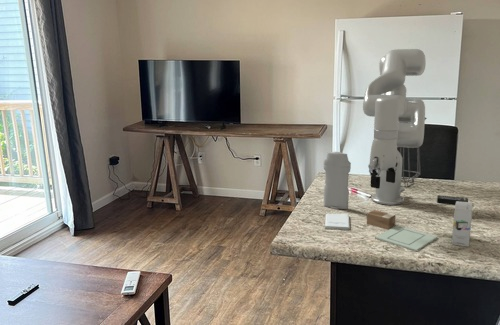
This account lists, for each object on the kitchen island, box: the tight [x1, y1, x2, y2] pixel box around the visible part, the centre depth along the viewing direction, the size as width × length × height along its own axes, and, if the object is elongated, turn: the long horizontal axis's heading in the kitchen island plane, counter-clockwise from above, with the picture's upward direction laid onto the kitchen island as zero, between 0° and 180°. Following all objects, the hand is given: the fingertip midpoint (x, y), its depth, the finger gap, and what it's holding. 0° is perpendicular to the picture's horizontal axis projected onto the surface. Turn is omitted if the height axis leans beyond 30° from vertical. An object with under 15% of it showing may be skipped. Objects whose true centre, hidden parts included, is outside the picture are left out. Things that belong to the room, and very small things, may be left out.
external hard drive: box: [324, 213, 350, 231], centre depth 158 cm, size 2×8×12 cm
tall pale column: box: [323, 151, 352, 210], centre depth 171 cm, size 11×4×22 cm, turn 61°
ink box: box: [451, 201, 473, 247], centre depth 139 cm, size 8×5×12 cm, turn 154°
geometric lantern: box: [399, 117, 428, 188], centre depth 199 cm, size 16×16×35 cm
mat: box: [374, 224, 438, 252], centre depth 143 cm, size 14×14×1 cm
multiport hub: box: [436, 194, 469, 206], centre depth 176 cm, size 4×11×2 cm, turn 68°
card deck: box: [366, 209, 396, 230], centre depth 155 cm, size 5×8×4 cm, turn 47°
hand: (382, 184), depth 151 cm, fingers open, 9 cm apart
